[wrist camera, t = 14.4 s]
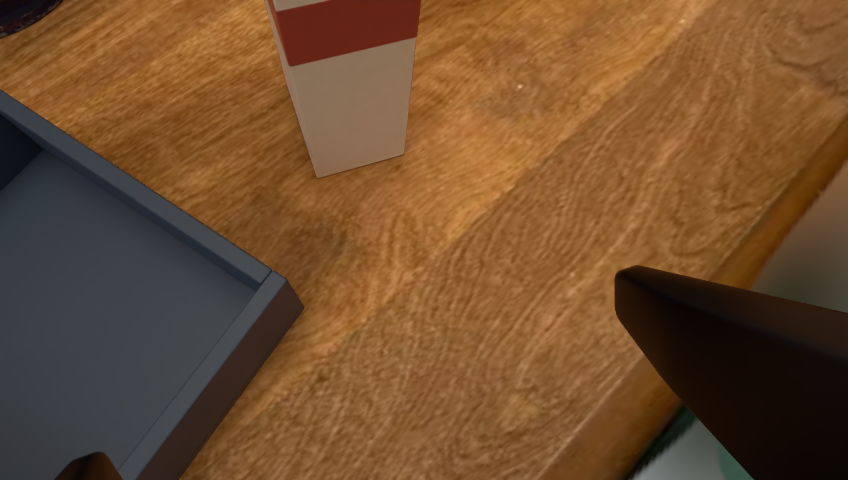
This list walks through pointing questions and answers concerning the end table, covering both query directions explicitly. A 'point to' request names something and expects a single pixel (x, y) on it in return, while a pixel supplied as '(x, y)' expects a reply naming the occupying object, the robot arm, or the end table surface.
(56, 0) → the dark blue cylinder
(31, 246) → the box
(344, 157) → the plate
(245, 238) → the end table surface
